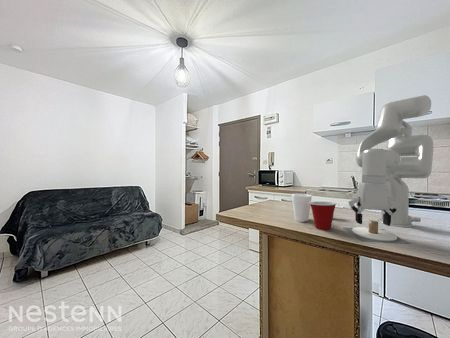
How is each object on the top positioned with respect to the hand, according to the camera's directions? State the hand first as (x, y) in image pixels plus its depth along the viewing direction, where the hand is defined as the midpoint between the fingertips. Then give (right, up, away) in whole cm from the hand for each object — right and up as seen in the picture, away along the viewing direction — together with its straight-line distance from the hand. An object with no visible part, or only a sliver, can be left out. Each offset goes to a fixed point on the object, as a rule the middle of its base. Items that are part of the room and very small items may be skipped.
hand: (372, 224), depth 76 cm
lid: (+1, -4, +1) cm, 4 cm away
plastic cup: (-15, -5, +9) cm, 18 cm away
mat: (+1, -5, +1) cm, 5 cm away
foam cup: (-19, -5, +23) cm, 30 cm away
